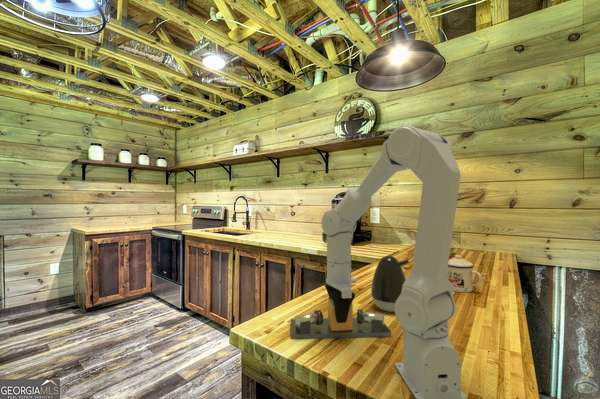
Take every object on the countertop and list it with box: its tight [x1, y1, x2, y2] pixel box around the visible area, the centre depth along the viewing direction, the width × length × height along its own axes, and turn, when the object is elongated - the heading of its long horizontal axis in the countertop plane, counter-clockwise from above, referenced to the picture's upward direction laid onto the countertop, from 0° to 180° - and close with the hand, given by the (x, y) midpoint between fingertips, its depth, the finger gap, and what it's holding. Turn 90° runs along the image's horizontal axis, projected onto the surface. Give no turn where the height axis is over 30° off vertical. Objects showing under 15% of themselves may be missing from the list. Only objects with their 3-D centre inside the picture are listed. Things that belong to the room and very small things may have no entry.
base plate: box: [290, 317, 392, 340], centre depth 67 cm, size 8×23×1 cm, turn 92°
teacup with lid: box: [446, 254, 483, 293], centre depth 96 cm, size 12×9×12 cm
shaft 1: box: [294, 309, 324, 335], centre depth 65 cm, size 6×3×4 cm, turn 112°
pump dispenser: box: [370, 255, 410, 313], centre depth 80 cm, size 10×10×15 cm
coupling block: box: [327, 298, 354, 331], centre depth 66 cm, size 4×5×6 cm
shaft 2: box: [356, 308, 385, 333], centre depth 65 cm, size 6×3×4 cm, turn 72°
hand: (339, 318), depth 66 cm, fingers closed on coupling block, 4 cm apart
